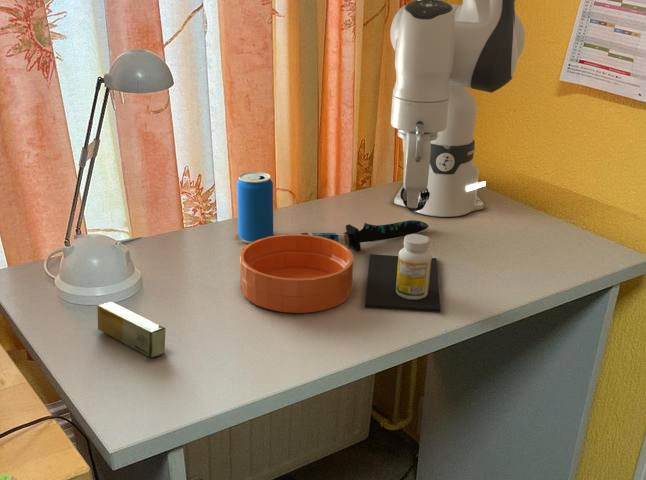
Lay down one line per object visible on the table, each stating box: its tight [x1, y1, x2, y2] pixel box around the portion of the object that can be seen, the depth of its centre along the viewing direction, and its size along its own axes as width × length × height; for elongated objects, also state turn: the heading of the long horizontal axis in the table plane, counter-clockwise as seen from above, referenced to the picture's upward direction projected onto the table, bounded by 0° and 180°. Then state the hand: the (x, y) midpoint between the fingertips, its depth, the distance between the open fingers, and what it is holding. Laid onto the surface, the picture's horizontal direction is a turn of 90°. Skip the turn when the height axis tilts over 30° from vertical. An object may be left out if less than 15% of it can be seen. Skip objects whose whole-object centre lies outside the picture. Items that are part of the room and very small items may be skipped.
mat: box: [364, 253, 442, 313], centre depth 135 cm, size 20×12×1 cm, turn 176°
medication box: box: [97, 301, 167, 359], centre depth 113 cm, size 12×3×4 cm, turn 53°
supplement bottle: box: [396, 233, 433, 300], centre depth 128 cm, size 5×5×10 cm
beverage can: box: [236, 171, 274, 244], centre depth 145 cm, size 6×6×12 cm
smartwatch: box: [400, 185, 430, 213], centre depth 130 cm, size 4×5×5 cm
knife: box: [300, 219, 429, 253], centre depth 147 cm, size 31×3×4 cm, turn 124°
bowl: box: [239, 233, 355, 314], centre depth 129 cm, size 18×18×6 cm
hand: (411, 200), depth 131 cm, fingers closed on smartwatch, 5 cm apart
